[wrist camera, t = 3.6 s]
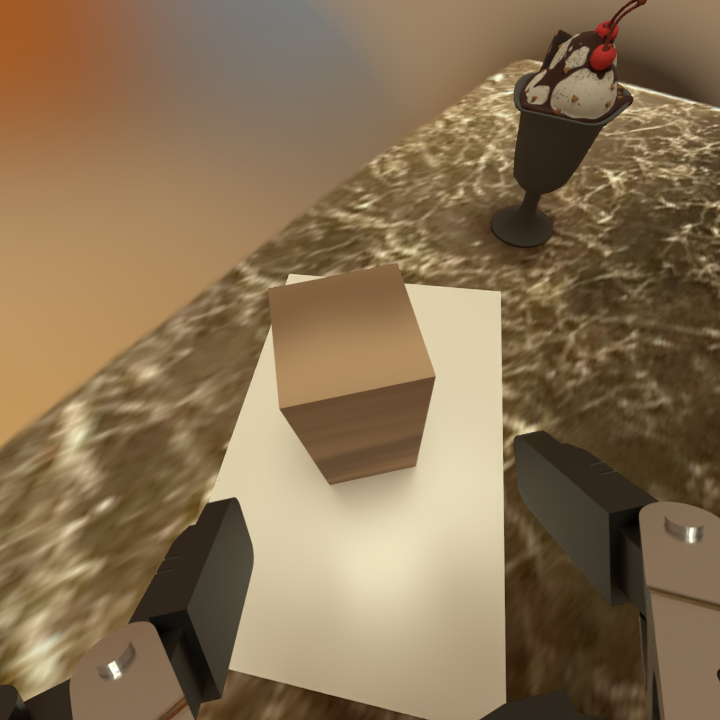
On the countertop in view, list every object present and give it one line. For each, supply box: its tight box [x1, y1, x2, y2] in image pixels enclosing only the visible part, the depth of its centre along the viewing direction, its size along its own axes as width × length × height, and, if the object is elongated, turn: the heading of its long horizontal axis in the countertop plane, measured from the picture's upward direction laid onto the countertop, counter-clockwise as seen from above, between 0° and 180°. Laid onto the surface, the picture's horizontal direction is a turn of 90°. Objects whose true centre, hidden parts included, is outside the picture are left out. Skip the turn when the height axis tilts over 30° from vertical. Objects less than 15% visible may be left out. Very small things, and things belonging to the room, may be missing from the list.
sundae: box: [491, 0, 647, 247], centre depth 25 cm, size 7×7×15 cm
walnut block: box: [268, 263, 436, 485], centre depth 18 cm, size 5×5×11 cm
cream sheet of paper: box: [209, 274, 506, 720], centre depth 23 cm, size 24×16×1 cm, turn 170°
